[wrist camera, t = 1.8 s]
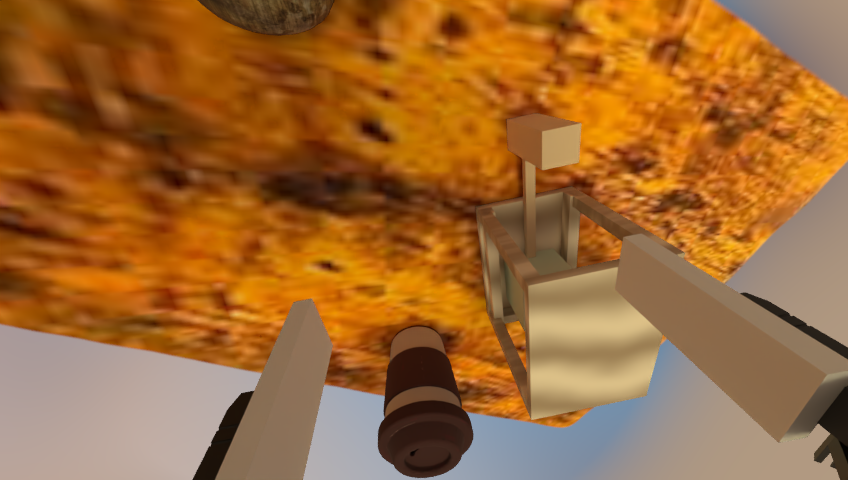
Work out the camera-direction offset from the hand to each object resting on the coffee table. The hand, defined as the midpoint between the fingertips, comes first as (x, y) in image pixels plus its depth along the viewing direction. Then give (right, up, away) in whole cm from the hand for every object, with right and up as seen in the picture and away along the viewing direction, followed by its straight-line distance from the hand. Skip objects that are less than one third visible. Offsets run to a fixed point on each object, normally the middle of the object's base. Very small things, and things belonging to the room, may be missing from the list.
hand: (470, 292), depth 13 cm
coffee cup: (-3, -12, +30) cm, 33 cm away
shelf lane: (+11, 0, +25) cm, 27 cm away
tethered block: (+10, +5, +22) cm, 24 cm away
